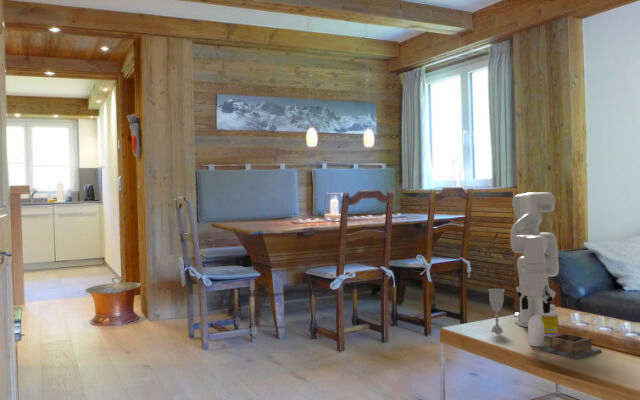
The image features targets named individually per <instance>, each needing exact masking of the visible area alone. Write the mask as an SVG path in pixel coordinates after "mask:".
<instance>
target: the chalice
mask: <svg viewBox="0 0 640 400" xmlns="http://www.w3.org/2000/svg"><path fill="white" fill-rule="evenodd" d="M487 291H488V292H489V293H488V298H489V304H490V306H491V308H492V310H493V311H495V314H494V316H495V319H494V321H495V324H494V325H493V326H492V328H491V330H490V331H491V332H492V333H503V332H504V329H503V328H502V326H501V325H499V321H500V319H499V312H500V311H501V309H502V308H503V304H504V302H505V301H504V300H505V297H504V295H505V294H504V292H505V289H504V288H489V289H487Z"/></svg>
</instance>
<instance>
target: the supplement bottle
mask: <svg viewBox="0 0 640 400" xmlns="http://www.w3.org/2000/svg"><path fill="white" fill-rule="evenodd" d="M541 322H542V323H543V325H544V337H545V338H546V337H547V338H548V337H549V338H550V337H552V336H556V335H559V313H558V312H557V311H556V305H555V304H552V303H550V313H543V309H542V311H541Z"/></svg>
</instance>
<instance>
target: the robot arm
mask: <svg viewBox="0 0 640 400" xmlns="http://www.w3.org/2000/svg"><path fill="white" fill-rule="evenodd" d="M511 204H512V209H513V213H514V216H515V218H516V221H515V223H513V225H512V227H511V229H510V234H509V237H510V248H511V250H512V252H514V253H515V254H523V255H521V256H519V257H518V258H517V261H516V267H517V272H518V281H519V282H518V284H519V285H518V286H516V287H515V290H516V292H517V296H519V312H514V314H513V318H516V319H517V321H516V325H518V326H520V327H525V328H528V321H529V320H530V319H531V317H532V316H534V315H536V314H538V315H539V316H540V320H541V311H542V310H543V313H550V304H552V301H554V299H555V297H556V294H557V292H556V291H555V290H554V289H552V288H550V285H549V277H553V278H554V277H556V276H558V274H559V271H560V265H559V247H558V240H557V236H556V235H555V234H554V232H550V231H549V232H548V231H547V232H545V231H542V232H541V231H540V229H539V225H541V223H542V221H543V218H542V213H546V212H547V213H550V212H553V211H554V210H555V207H556V199H555V196H554V194H553V193H552V192H550V191H541V192H539V191H538V192H535V191H533V192H526V193H520V194H516V195H514V196H513V197H512V202H511Z"/></svg>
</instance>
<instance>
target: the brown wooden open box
mask: <svg viewBox="0 0 640 400" xmlns="http://www.w3.org/2000/svg"><path fill="white" fill-rule="evenodd" d="M592 343H593V341H592V338H591V337H587V336H583V335H582V336H581V335H577V334H573V333H570V332H569V333H567V332H565V333H560V334H558V335H556V336H552V337H549V344H548V345H544V346H540V350H541V351H544V352H548V353H552V354H555V355H559V356H563V357H566V358H571V359H574V360H581V359H583V358H587V357H591V356H593V355H597V354H599V353H602V349H601V348H598V347H597V348H596V347H593V345H592Z"/></svg>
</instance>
